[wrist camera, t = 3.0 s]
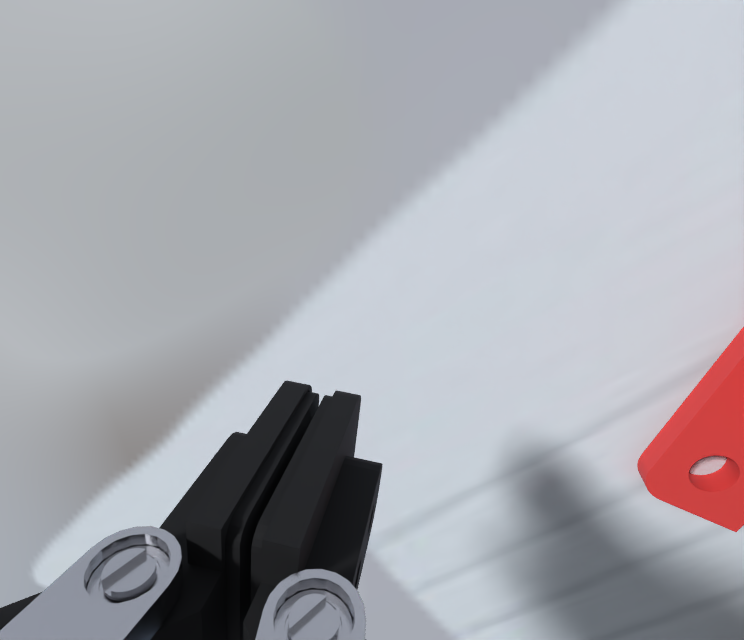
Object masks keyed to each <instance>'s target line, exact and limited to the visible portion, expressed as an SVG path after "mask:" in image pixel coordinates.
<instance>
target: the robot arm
mask: <svg viewBox="0 0 744 640" xmlns="http://www.w3.org/2000/svg"><path fill="white" fill-rule="evenodd" d="M360 404H361V396H360V395H356V394H351V393H346V392H341V391H335V393H334V395H333V397H332V396H327V395H325V396H324V398H323V399H322V401H321V403H320V405H319V394H317V393H312V388H311V386H310V385H306V384H301V383H296V382H291V381H285V382H284V383H283V384H282V386H281V387H280V388H279V390H278V391H277V393H276V394H275V395H274V397H273V398H272V400H271V401H270V402H269V404H268V405H267V407H266V408H265V409H264V411H263V412H262V414H261V415H260V416H259V418H258V419H257V421H256V422H255V423H254V425H253V426H252V428H251V429H250V431H249V432H248V433H247V434H244V433H239V432H235V433H233V434H232V435H231V436H230V437H229V438H228V439H227V440H226V442H225V443H224V444H223V446H222V447H221V448H220V449H219V451H218V452H217V453H216V455H215V456H214V457H213V459H212V460H211V461H210V463H209V464H208V465H207V466H206V468H205V469H204V470H203V472H202V473H201V474H200V476H199V477H198V478H197V480H196V481H195V482H194V483H193V485H192V486H191V487H190V489H189V490H188V491H187V493H186V494H185V495H184V496H183V498H182V499H181V500H180V502H179V503H178V504H177V506H176V507H175V508H174V510H173V511H172V512H171V513H170V515H169V516H168V517H167V519H166V520H165V521H164V523H163V524H162V525H161V527H160V528H156V527H152V526H146V527H133V528H129V529H125V530H122V531H119V532H117V533H115V534H112V535H110V536H108V537H106V538H104V539H103V540H102V541H100V542H99V543H97V544H96V545H95V546H93V547H92V548H91V549H90V550H88V551H87V552H86V553H85V554H84V555H83V556H82V557H81V558H80V559H78V560H77V561H76V562H75V563H74V564H73V565H72V566H71V567H70V568H69V569H67V570H66V571H65V572H64V573H63V574H62V575H61V576H60V577H59V578H58V579H56V580H55V581H54V582H53V583H52V584H51V585H50V586H49V587H48V588H46V589H45V590H44V591H43V592H41V593H38V594H36V595H33V596H30V597H28V598H25V599H23V600H20V601H18V602H15V603H12V604H10V605H7V606H5V607H2V608H0V640H366V639H365V631H366V629H365V628H366V616H365V608H364V603H363V601H362V599H361V597H360V594H359V592H358V591H357V589H358V584H359V580H360V576H361V571H362V567H363V563H364V558H365V554H366V550H367V545H368V541H369V537H370V532H371V528H372V523H373V518H374V513H375V508H376V503H377V497H378V491H379V485H380V478H381V472H382V464H381V463H377V462H372V461H368V460H363V459H358V458H354V452H355V444H356V436H357V428H358V420H359V412H360ZM318 406H319V407H318Z"/></svg>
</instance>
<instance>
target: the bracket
mask: <svg viewBox="0 0 744 640" xmlns="http://www.w3.org/2000/svg"><path fill="white" fill-rule="evenodd" d="M715 455H718V456H725V457H727V460H726V463H725V464H724V466H723V467H722V468H721V469H719V470H718V471H716V472H714V473H711V474H708V475H694V474H691V473H689V470H690V468H691V466H692V465H693V464H694V463H695V462H697V461H698V460H700V459H702V458H704V457H708V456H715ZM638 471H639V473H640V475H641V477H642V479H643V481H644V483H645V485H646V487H647V489H648V491H649V492H650V493H651V494H652V495H653V496H654V497H656V498H657V499H659V500H662V501H664V502H666V503H669V504H671V505H674V506H676V507H678V508H681V509H683V510H685V511H688V512H690V513H692V514H695V515H697V516H699V517H702V518H704V519H706V520H709V521H711V522H713V523H716V524H718V525H720V526H723V527H725V528H728V529H730V530H732V531H735V532H737V531H738V530H739V529H740V528H741V527H742V526H743V525H744V327H743V328H742V329H741V331H740V332H739V333H738V334H737V336H736V337H735V338H734V339H733V341H732V342H731V343H730V344H729V346H728V347H727V348H726V349H725V351H724V352H723V353H722V354H721V356H720V357H719V358H718V359H717V361H716V362H715V363H714V364H713V366H712V367H711V368H710V369H709V371H708V372H707V373H706V375H705V376H704V377H703V378H702V380H701V381H700V382H699V383H698V385H697V386H696V387H695V388H694V390H693V391H692V392H691V393H690V395H689V396H688V397H687V398H686V400H685V401H684V402H683V403H682V405H681V406H680V407H679V408H678V410H677V411H676V412H675V413H674V415H673V416H672V417H671V418H670V420H669V421H668V422H667V423H666V425H665V426H664V427H663V428H662V430H661V431H660V432H659V433H658V435H657V436H656V437H655V438H654V440H653V441H652V442H651V443H650V445H649V446H648V447H647V448H646V450H645V451H644V452H643V453H642V455H641V456H640V458H639V460H638Z"/></svg>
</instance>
